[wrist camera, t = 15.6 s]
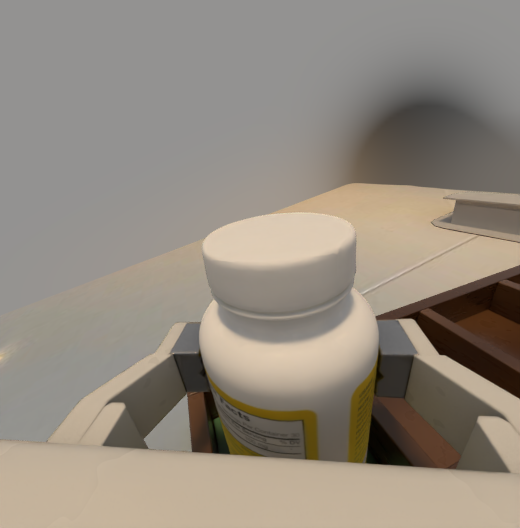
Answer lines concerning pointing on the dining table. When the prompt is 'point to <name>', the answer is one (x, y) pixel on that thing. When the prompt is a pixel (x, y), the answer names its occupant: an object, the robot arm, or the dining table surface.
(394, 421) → the rack
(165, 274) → the dining table surface
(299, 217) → the supplement bottle
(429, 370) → the robot arm
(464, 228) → the grey hinged lid tray
